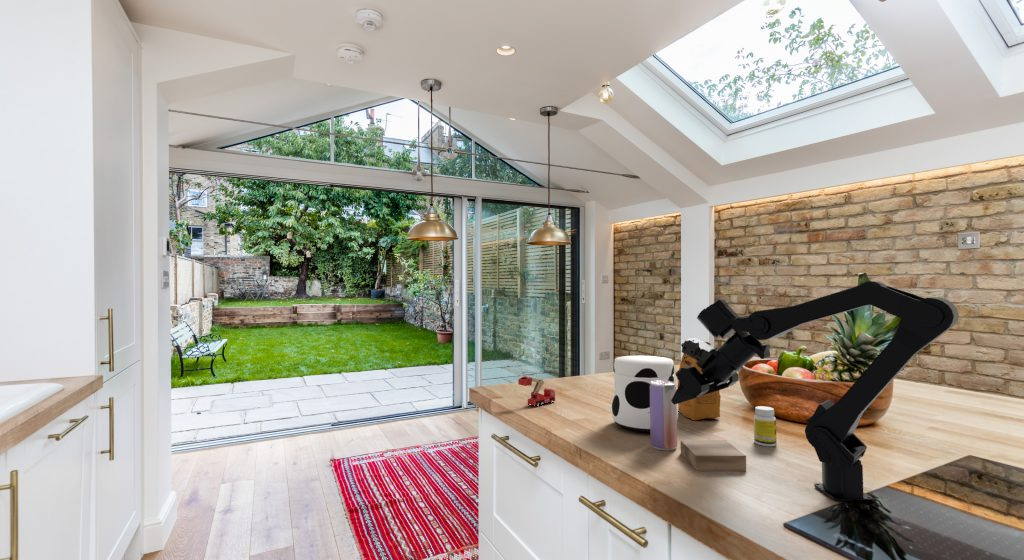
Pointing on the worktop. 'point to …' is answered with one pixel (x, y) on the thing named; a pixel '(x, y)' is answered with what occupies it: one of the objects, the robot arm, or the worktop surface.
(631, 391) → the milk container
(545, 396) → the toy fire truck
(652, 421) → the beverage can
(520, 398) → the worktop surface
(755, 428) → the supplement bottle
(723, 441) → the walnut base brick
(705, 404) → the coffee package
